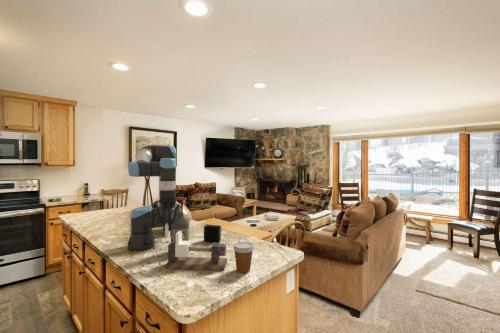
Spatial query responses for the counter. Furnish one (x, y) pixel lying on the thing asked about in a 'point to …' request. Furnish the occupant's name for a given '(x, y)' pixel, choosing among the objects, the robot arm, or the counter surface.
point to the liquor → (180, 224)
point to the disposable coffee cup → (243, 256)
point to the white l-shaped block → (181, 246)
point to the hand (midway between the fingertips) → (167, 237)
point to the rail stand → (198, 258)
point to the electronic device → (212, 233)
